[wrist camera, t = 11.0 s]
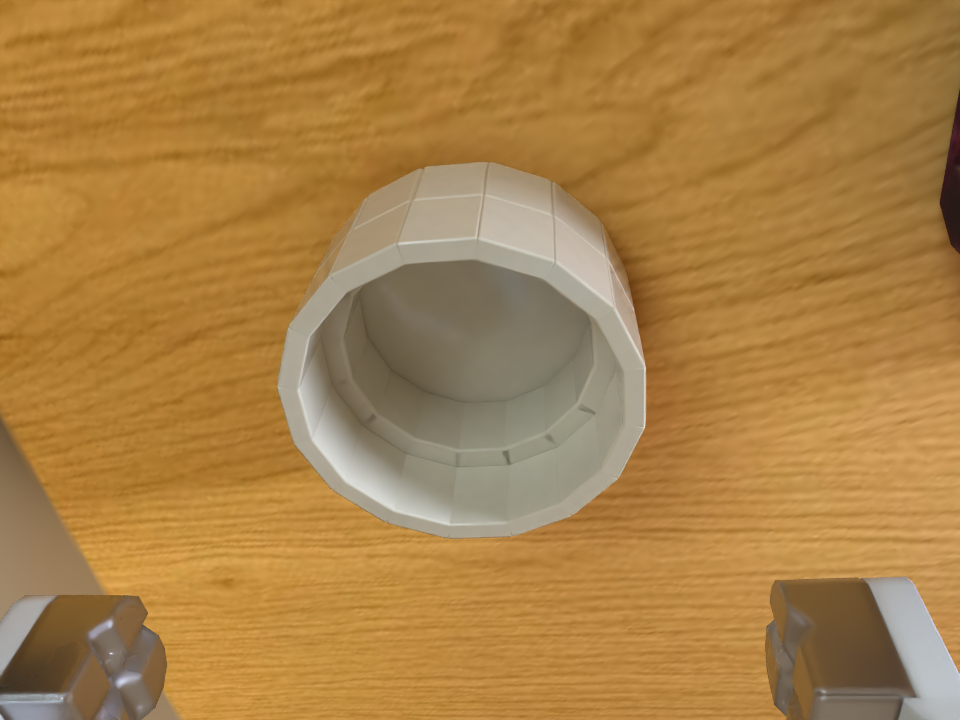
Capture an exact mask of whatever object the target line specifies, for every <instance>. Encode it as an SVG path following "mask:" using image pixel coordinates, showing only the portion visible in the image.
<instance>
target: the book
mask: <svg viewBox="0 0 960 720" xmlns="http://www.w3.org/2000/svg"><path fill="white" fill-rule="evenodd" d="M940 206H941V209H942V213H943V217H944V220H945V224H946V228H947V231H948V235H949V239H950V242H951V245H952V246H953V247H954V248H955V249H956V250H957V251H958V253H959V254H960V91H959V97H958V103H957V108H956V114H955V120H954V125H953V131H952V137H951V142H950V148H949V154H948V159H947V165H946V171H945V176H944V182H943V188H942V193H941V199H940Z"/></svg>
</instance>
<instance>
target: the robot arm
mask: <svg viewBox="0 0 960 720" xmlns="http://www.w3.org/2000/svg"><path fill="white" fill-rule="evenodd" d="M770 605H771V608H772V612H773V615H774V619H775V620H773V621H772V622H771V623H770V624H769V625H768V626H767V628H766V640H765V652H766V668H767V674H768V679H769V685H770V689H771V693H772V697H773V701H774V705H775V706H776V707H777V708H778V709H779V710H780V711H781V712H782V713H783V714H784V715H786V716H787V719H786V720H960V674H959V672H958V670H957V668H956V666H955V664H954V662H953V660H952V658H951V656H950V654H949V652H948V650H947V648H946V646H945V644H944V642H943V640H942V638H941V636H940V634H939V632H938V630H937V628H936V626H935V624H934V622H933V620H932V619H931V617H930V615H929V613H928V611H927V609H926V607H925V605H924V603H923V601H922V599H921V597H920V595H919V593H918V591H917V589H916V587H915V585H914V583H913V582H912V581H910V580H909V579H908V578H907V577H879V578H861V579H859V578H828V579H798V580H775V581H774V583H773V585H772V588H771V595H770ZM147 614H148V612H147V610H146V609H145V607H144V605H143V603H142V601H141V600H140V598H139V596H129V595H48V596H47V595H31V596H30V595H29V596H28V595H26V596H24V597H23V598H21V599H19V600H18V601H16V602H15V603H14V604H13V605H12V606H11V607H10V609H9V610H8V612H7V613H6V614H5V616H4V617H3V619H2V620H1V621H0V720H142V719H143V718H144V717H145V716H146V715H147V714H148V713H150V712H151V711H152V710H153V709H154V708H155V707H156V704H157V702H158V699H159V697H160V695H161V692H162V690H163V688H164V681H165V675H166V668H167V661H166V654H165V648H164V646H163V644H162V641H161V639H160V637H159V635H157V634H156V633H154V632H153V631H151V630H150V629H148V628H147V627H145V626H144V625H143V623H144V620H145V618H146V616H147Z"/></svg>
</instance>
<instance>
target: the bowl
mask: <svg viewBox="0 0 960 720" xmlns="http://www.w3.org/2000/svg"><path fill="white" fill-rule="evenodd" d="M277 389H278V393H279V396H280V400H281V403H282V406H283V410H284V413H285V417H286V420H287V423H288V427H289V430H290V434H291V437H292V441H293V442H294V444H295V446H296V447H297V448H298V450H299V451H300V452H301V453H302V455H303V456H304V457H305V458H306V459H307V461H308V462H309V463H310V464H311V465H312V467H313V468H314V469H315V470H316V471H317V473H318V474H319V475H320V476H321V478H322V479H323V480H324V481H325V482H326V484H327V485H328V486H329V487H330V488H331V489H333V491H334V492H336V493H337V494H339V495H341V496H342V497H344V498H346V499H347V500H349V501H351V502H352V503H354V504H356V505H357V506H359V507H360V508H362V509H364V510H365V511H367V512H369V513H370V514H372V515H374V516H375V517H377V518H379V519H380V520H382V521H384V522H387V523H388V524H392V525H396V526H400V527H404V528H408V529H412V530H416V531H419V532H423V533H427V534H431V535H435V536H439V537H443V538H448V537H449V538H450V539H459V538H491V537H511V536H516V535H519V534H522V533H525V532H528V531H531V530H534V529H537V528H539V527H542V526H545V525H548V524H551V523H554V522H557V521H560V520H563V519H566V518H569V517H570V516H572V515H574V514H575V513H576V512H578V511H579V510H580V509H581V508H583V507H584V506H585V505H586V504H588V503H589V502H590V501H591V500H593V499H594V498H595V497H596V496H598V495H599V494H600V493H601V492H603V491H604V490H605V489H606V488H608V487H609V486H610V485H611V484H613V483H614V482H615V481H616V480H617V478H619V477H620V475H621V473H622V471H623V469H624V467H625V465H626V463H627V461H628V459H629V457H630V456H631V454H632V452H633V450H634V448H635V446H636V444H637V442H638V440H639V438H640V436H641V434H642V432H643V431H644V429H645V425H646V365H645V360H644V355H643V350H642V345H641V340H640V335H639V330H638V325H637V320H636V315H635V311H634V306H633V301H632V296H631V291H630V286H629V281H628V277H627V272H626V269H625V267H624V265H623V263H622V261H621V259H620V257H619V255H618V253H617V251H616V249H615V247H614V245H613V243H612V241H611V239H610V237H609V234H608V232H607V230H606V228H605V226H604V225H603V224H602V223H601V221H600V219H599V218H598V217H596V216H595V215H594V214H593V213H592V212H590V211H589V210H588V209H587V208H586V207H584V206H583V205H582V204H581V203H580V202H578V201H577V200H576V199H575V198H573V197H572V196H571V195H570V194H569V193H567V192H566V191H565V190H564V189H563V188H561V187H560V186H559V185H558V184H557V183H555V182H552V181H551V180H549V179H546V178H543V177H539V176H536V175H533V174H530V173H526V172H523V171H520V170H517V169H513V168H510V167H507V166H504V165H500V164H497V163H494V162H489V164H488V163H487V162H475V163H463V164H451V165H439V166H427V167H425V168H424V169H417V170H415V171H413V172H411V173H409V174H408V175H406V176H404V177H402V178H400V179H398V180H396V181H394V182H392V183H390V184H388V185H386V186H384V187H383V188H381V189H379V190H377V191H375V192H373V193H371V194H370V195H369V196H368V197H367V198H365V199H364V200H363V201H362V202H361V203H360V205H359V206H358V207H357V209H356V210H355V211H354V212H353V214H352V215H351V216H350V218H349V219H348V220H347V221H346V223H345V224H344V225H343V227H342V228H341V229H340V230H339V232H338V233H337V234H336V236H335V237H334V238H333V240H332V242H331V243H330V245H329V247H328V249H327V251H326V253H325V255H324V257H323V259H322V261H321V263H320V265H319V267H318V269H317V271H316V273H315V275H314V277H313V279H312V281H311V283H310V285H309V287H308V289H307V291H306V292H305V294H304V296H303V298H302V300H301V302H300V304H299V306H298V308H297V310H296V312H295V314H294V316H293V318H292V320H291V322H290V324H289V326H288V328H287V333H286V338H285V343H284V348H283V354H282V359H281V364H280V370H279V375H278V380H277Z"/></svg>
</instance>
